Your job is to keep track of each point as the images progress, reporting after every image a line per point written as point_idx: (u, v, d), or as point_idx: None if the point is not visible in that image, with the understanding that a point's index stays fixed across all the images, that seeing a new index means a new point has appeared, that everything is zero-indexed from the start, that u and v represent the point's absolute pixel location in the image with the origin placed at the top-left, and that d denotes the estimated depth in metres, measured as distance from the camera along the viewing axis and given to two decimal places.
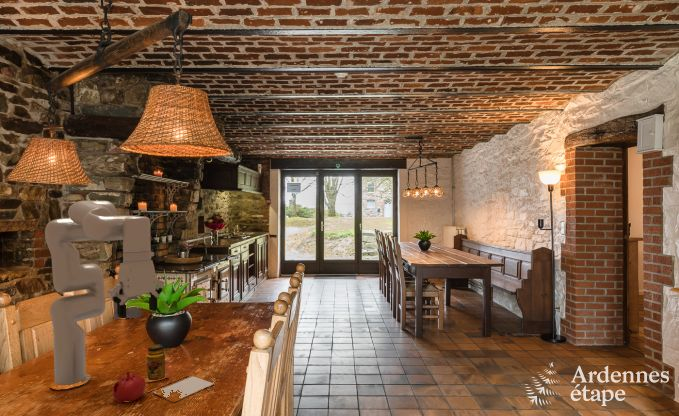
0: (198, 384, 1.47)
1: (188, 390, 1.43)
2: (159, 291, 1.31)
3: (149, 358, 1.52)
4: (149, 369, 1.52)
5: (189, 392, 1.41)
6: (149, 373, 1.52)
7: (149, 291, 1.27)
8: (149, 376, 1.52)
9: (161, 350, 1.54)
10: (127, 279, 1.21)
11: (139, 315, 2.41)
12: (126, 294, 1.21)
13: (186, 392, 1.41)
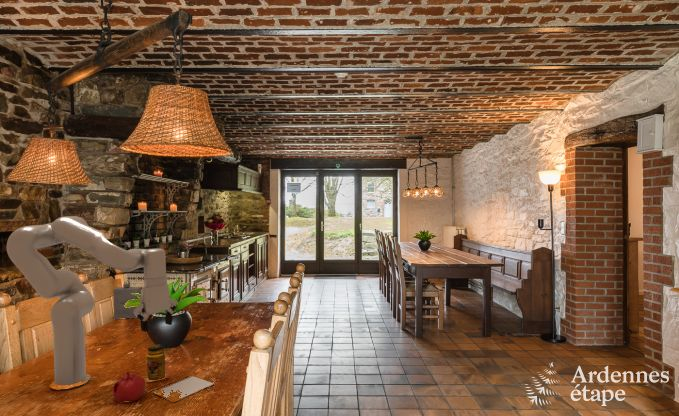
0: (198, 384, 1.47)
1: (188, 390, 1.43)
2: (173, 308, 1.61)
3: (149, 358, 1.52)
4: (149, 369, 1.52)
5: (189, 392, 1.41)
6: (149, 373, 1.52)
7: (165, 309, 1.57)
8: (149, 376, 1.52)
9: (161, 350, 1.54)
10: (148, 300, 1.51)
11: None
12: (147, 312, 1.51)
13: (186, 392, 1.41)
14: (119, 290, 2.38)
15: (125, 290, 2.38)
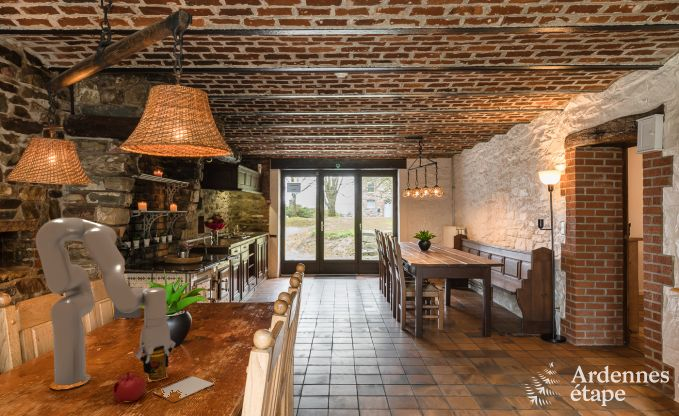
0: (198, 384, 1.47)
1: (188, 390, 1.43)
2: (170, 350, 1.60)
3: (150, 358, 1.52)
4: None
5: (189, 392, 1.41)
6: (150, 373, 1.53)
7: (165, 348, 1.57)
8: (150, 376, 1.52)
9: (162, 350, 1.54)
10: (147, 341, 1.51)
11: (139, 315, 2.41)
12: (147, 353, 1.51)
13: (186, 392, 1.41)
14: None
15: None
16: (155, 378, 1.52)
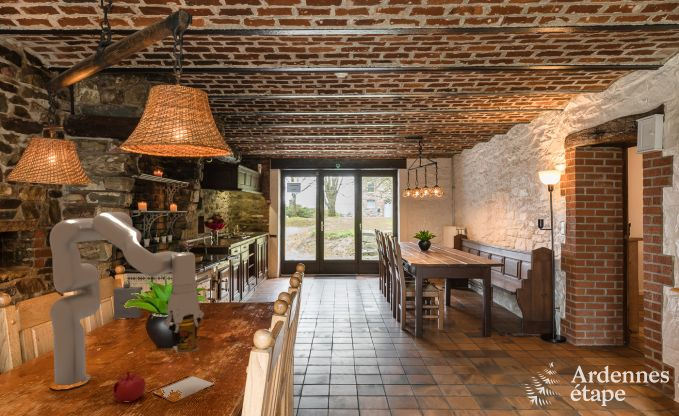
0: (198, 384, 1.47)
1: (188, 390, 1.43)
2: (198, 320, 1.48)
3: (179, 327, 1.41)
4: None
5: (189, 392, 1.41)
6: (179, 343, 1.41)
7: (194, 318, 1.45)
8: (179, 346, 1.41)
9: (191, 318, 1.43)
10: (176, 309, 1.39)
11: (139, 315, 2.41)
12: (176, 321, 1.39)
13: (186, 392, 1.41)
14: (119, 290, 2.38)
15: (125, 290, 2.38)
16: (185, 349, 1.41)
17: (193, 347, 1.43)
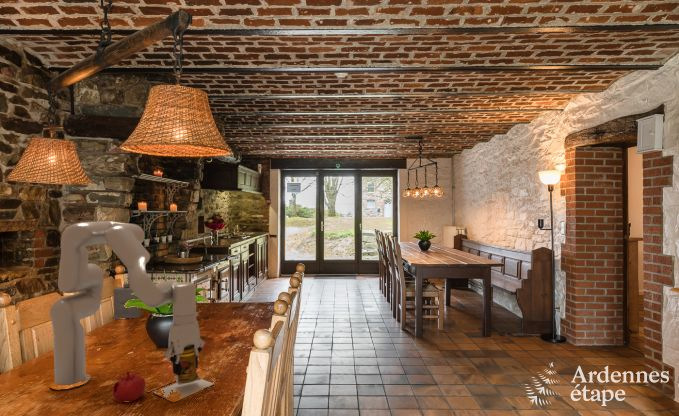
0: (198, 384, 1.47)
1: (188, 390, 1.43)
2: (199, 350, 1.48)
3: (180, 358, 1.41)
4: None
5: (189, 392, 1.41)
6: (180, 374, 1.41)
7: (195, 348, 1.45)
8: (180, 377, 1.41)
9: (192, 349, 1.43)
10: (177, 340, 1.39)
11: (139, 315, 2.41)
12: (177, 353, 1.39)
13: (186, 392, 1.41)
14: (119, 290, 2.38)
15: (125, 290, 2.38)
16: (186, 379, 1.41)
17: (194, 377, 1.43)
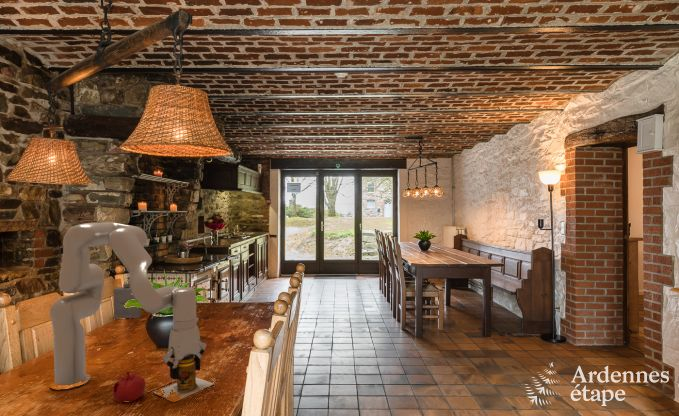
0: (198, 384, 1.47)
1: None
2: (202, 352, 1.49)
3: (179, 367, 1.41)
4: (179, 379, 1.41)
5: (189, 392, 1.41)
6: (179, 384, 1.41)
7: (195, 353, 1.45)
8: (180, 387, 1.41)
9: (192, 359, 1.43)
10: (177, 345, 1.39)
11: (139, 315, 2.41)
12: (177, 358, 1.39)
13: None
14: (119, 290, 2.38)
15: (125, 290, 2.38)
16: (185, 389, 1.41)
17: (193, 387, 1.43)
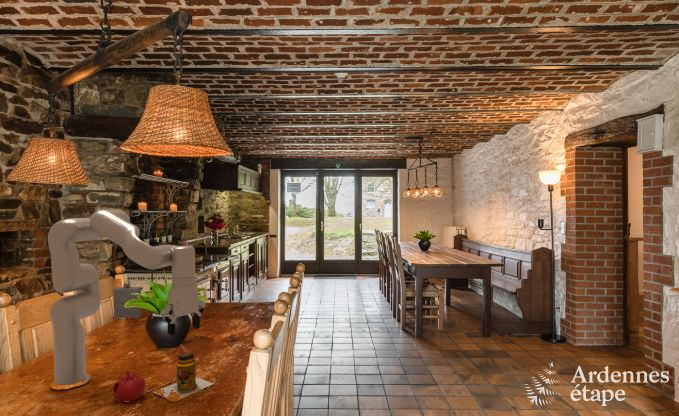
0: (198, 384, 1.47)
1: None
2: (201, 310, 1.49)
3: (179, 367, 1.41)
4: (179, 379, 1.41)
5: (189, 392, 1.41)
6: (179, 384, 1.41)
7: (194, 311, 1.45)
8: (180, 387, 1.41)
9: (192, 359, 1.43)
10: (176, 302, 1.40)
11: (139, 315, 2.41)
12: (175, 314, 1.40)
13: None
14: (119, 290, 2.38)
15: (125, 290, 2.38)
16: (185, 389, 1.41)
17: (193, 387, 1.43)
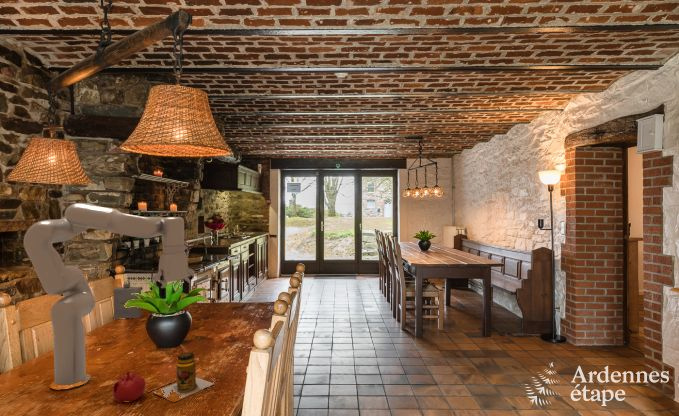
0: (198, 384, 1.47)
1: None
2: (190, 278, 1.61)
3: (179, 367, 1.41)
4: (179, 379, 1.41)
5: (189, 392, 1.41)
6: (179, 384, 1.41)
7: (183, 277, 1.56)
8: (180, 387, 1.41)
9: (192, 359, 1.43)
10: (166, 268, 1.51)
11: (139, 315, 2.41)
12: (166, 279, 1.51)
13: None
14: (119, 290, 2.38)
15: (125, 290, 2.38)
16: (185, 389, 1.41)
17: (193, 387, 1.43)
